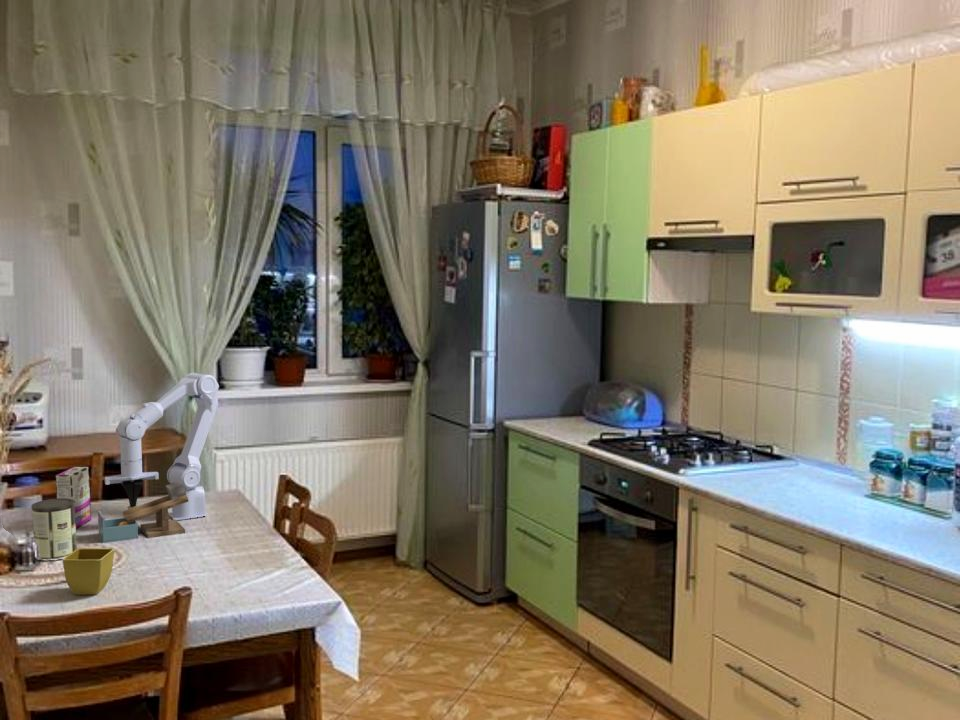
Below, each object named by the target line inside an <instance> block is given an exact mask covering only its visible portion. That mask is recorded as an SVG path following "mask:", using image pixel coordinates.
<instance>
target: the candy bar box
mask: <svg viewBox="0 0 960 720" xmlns="http://www.w3.org/2000/svg"><path fill="white" fill-rule="evenodd" d="M89 471H90V470H89V466H73V467H71V468H69V469H66V470H64V471H62V472H61V473H58V474H56V475H55V484H56V485H55V487H56V488H55V489H56V499H58V498H67V499H73V500H74V501H75V526H76V530H77V529H79V528H80V527H82V526H84V525H85V524H87V523H89V522H91V520H92V509H91V508H92V505H91V490H90V489H91V487H90V472H89Z"/></svg>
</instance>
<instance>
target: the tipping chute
mask: <svg viewBox="0 0 960 720" xmlns="http://www.w3.org/2000/svg"><path fill="white" fill-rule="evenodd" d="M165 489H166V492H167V495H165V496H162V497H160V498H156V499H154V500H151V501H148V502H146V503H143V504H139V503H137V502H136V506H135V507H131V506H130V505H128V506H126V508H127V509H126V510H124V511H122V514H123V518H125V519H126V520H127V522H128V523H131V522H133V521H136V522H137V521H140V520H142V519H144V518H147V517H150V516H152V515H156V513H158V512H161V508H162V507H168V510H169V509H172V507H175V506H177V505H180V504H183V503H186V502H188V497H187V495H186V492H185V488H184V485H183V484H182V483H181V482H180V481H177V482H175V483H172V484H171V483H169V484H166V485H165Z"/></svg>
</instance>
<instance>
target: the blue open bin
mask: <svg viewBox="0 0 960 720" xmlns="http://www.w3.org/2000/svg"><path fill="white" fill-rule="evenodd" d="M124 521H126V522H127V520H126V519H125V517H119V518H111V519H106V518H105V515H103V513H102V512H101V510H97V526H98V529H97V530H98V536H99V538H100V539H101V541H102V543H104V544H105V543H106V544H107V543H111V542H118V541H127V540H133V539H138V538H139V530H138V529H139V528H138V522H137V520H136V521H133V522H131V523H130V525H123V526H119V524H120V523H121V522H124Z"/></svg>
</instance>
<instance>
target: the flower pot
mask: <svg viewBox="0 0 960 720" xmlns="http://www.w3.org/2000/svg"><path fill="white" fill-rule="evenodd" d="M114 557H115V548H106V547H105V548H104V547H103V548H101V547H100V548H94V547H92V548H77V549H76V550H75V551H73V552H72V553H71V554H69V555H68V556H66V557H65V558H64V559H63V560H62V565H63V572H64V577H65V581H66V584H67V585H68V588H69V589H70V590H71V592H72V593H73V594H74V595H98V594H99V593H100V592H101V591H102V590H103V589H104V588H105V587H106V585H107V584H108V583H109V580H110V578H111V576H112V571H113V565H114Z"/></svg>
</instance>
